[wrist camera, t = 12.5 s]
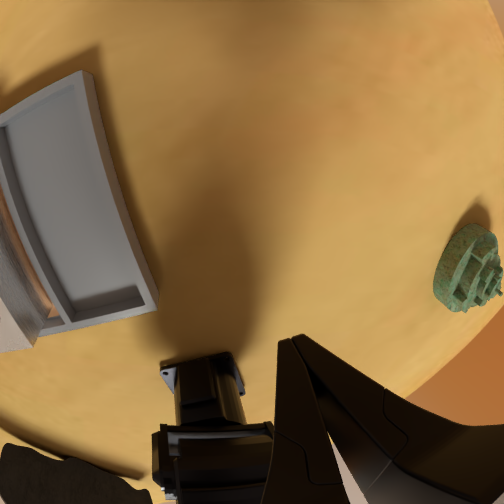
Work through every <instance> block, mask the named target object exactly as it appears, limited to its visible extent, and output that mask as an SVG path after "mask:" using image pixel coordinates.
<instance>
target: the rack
mask: <svg viewBox="0 0 504 504" xmlns="http://www.w3.org/2000/svg"><path fill="white" fill-rule="evenodd" d="M0 187H1V190H2V193H3V196H4V199H5V202H6V205H7V208H8V211H9V213H10V216H11V219H12V221H13V224H14V226H15V229H16V231H17V234H18V236H19V239H20V241H21V243H22V246H23V248H24V250H25V252H26V254H27V257H28V259H29V261H30V263H31V265H32V267H33V269H34V271H35V273H36V275H37V277H38V279H39V281H40V283H41V285H42V286H43V288H44V290H45V292H46V294H47V296H48V297H49V299H50V301H51V303H52V304H53V308H52V309H51V311H50V313H49V315H48V317H47V319H46V321H45V323H44V325H43V327H42V329H41V331H40V334H39V336H38V337H42V336H47V335H51V334H56V333H61V332H66V331H70V330H75V329H80V328H84V327H89V326H93V325H97V324H102V323H106V322H111V321H115V320H119V319H123V318H128V317H132V316H136V315H140V314H144V313H148V312H152V311H157V310H158V300H159V292H158V289H157V287H156V284H155V282H154V280H153V277H152V275H151V272H150V270H149V267H148V265H147V262H146V260H145V257H144V254H143V252H142V249H141V247H140V244H139V241H138V238H137V236H136V233H135V230H134V227H133V224H132V222H131V219H130V216H129V213H128V210H127V207H126V204H125V201H124V198H123V195H122V191H121V188H120V185H119V182H118V178H117V175H116V172H115V168H114V165H113V161H112V157H111V154H110V150H109V146H108V143H107V139H106V135H105V131H104V126H103V122H102V118H101V114H100V109H99V104H98V100H97V95H96V90H95V84H94V79H93V74H90V73H88V72H86V71H84V70H80V71H77V72H75V73H73V74H71V75H69V76H67V77H65V78H62V79H60V80H58V81H56V82H54V83H53V84H51V85H49V86H47V87H45V88H43V89H41V90H39V91H38V92H36V93H34V94H32V95H31V96H29V97H27V98H26V99H24V100H22V101H21V102H19V103H17V104H16V105H14V106H13V107H11V108H10V109H8V110H7V111H5V112H4V113H2V114H1V115H0Z"/></svg>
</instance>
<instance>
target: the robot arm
mask: <svg viewBox="0 0 504 504" xmlns="http://www.w3.org/2000/svg"><path fill="white" fill-rule="evenodd" d="M226 357H228V358H226ZM160 375H161V376H162V378H163V379H164V381H165V382H166V384H167V385H168V387H169V388H170V390H171V391H172V393H173V394H174V399H175V415H176V426H174V425H167V424H160V431H158V432H156V433H153V434H152V478H153V481H155V482H156V483H157V484H158V485H159V486H160V487H161V490H162V491H165V498H166V500H176V504H350V502H349V499H348V496H347V494H346V491H345V488H344V485H343V481H342V478H341V474H340V471H339V468H338V464H337V461H336V458H335V455H334V452H333V448H332V445H331V442H330V439H329V435H330V437H331V439H332V441H333V442H334V444H335V446H336V448H337V449H338V451H339V453H340V455H341V457H342V458H343V460H344V462H345V464H346V465H347V467H348V469H349V471H350V472H351V474H352V476H353V478H354V479H355V481H356V483H357V484H358V486H359V488H360V490H361V491H362V493H363V494H364V496H365V498H366V500H367V502H368V503H369V504H504V424H501V425H486V426H468V425H462V424H459V423H456V422H453V421H451V420H448V419H446V418H443V417H441V416H438V415H436V414H434V413H431V412H429V411H427V410H425V409H423V408H420V407H418V406H416V405H414V404H412V403H410V402H408V401H406V400H405V399H403V398H401V397H400V396H398V395H396V394H394V393H393V392H391V391H390V390H388V389H387V388H386V389H384V387H383V386H382V385H380V384H379V383H377V382H375V381H374V380H372V379H371V378H369V377H368V376H366V375H365V374H363V373H362V372H360V371H358V370H357V369H355V368H354V367H352V366H351V365H349V364H348V363H346V362H345V361H343V360H342V359H340V358H339V357H337V356H336V355H334V354H333V353H331V352H330V351H328V350H327V349H325V348H324V347H322V346H321V345H320V344H318V343H317V342H315V341H314V340H312V339H311V338H309V337H308V336H306V335H305V334H299V335H296V336H293V337H292V338H291V339H290V338H287V339H284V340H280V341H279V342H278V351H277V376H276V398H275V417H274V426H273V424H272V422H271V421H267V422H263V423H257V424H247V422H246V418H245V415H244V411H243V407H242V403H241V399H240V396H243V395H245V389H244V386H243V384H242V381H241V378H240V376H239V373H238V370H237V367H236V365H235V362H234V359H233V356H232V354H231V353H229V352H224V353H220V354H216V355H212V356H208V357H204V358H200V359H196V360H191V361H187V362H183V363H178V364H173V365H169V366H164V367H161V368H160ZM328 433H329V435H328Z"/></svg>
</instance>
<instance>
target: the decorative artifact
mask: <svg viewBox="0 0 504 504" xmlns="http://www.w3.org/2000/svg"><path fill="white" fill-rule="evenodd" d="M502 276H503V268H502V267H501V266H500V257H499V255H498V241H497V238H496V236H495V235H494V234H493V233H492V232H490V231H488V230H486V229H485V228H483V227H481V226H479V225H478V224H469V225H466V226H465V227H463V228H462V229H461V230H459V231H458V232H457V233H456V235H455V236H454V237H453V238H452V239H451V241H450V242H449V244H448V245H447V247H446V248H445V250H444V252H443V254H442V256H441V258H440V260H439V263H438V265H437V268H436V272H435V275H434V281H433V291H434V295H435V297H436V298H437V299H438V300H439V301H440V302H442V303H443V304H444V305H445V306H446V307H447V308H448V309H449V310H450V311H452V312H459V311H463V312H464V313H466V312H467V311H468V309H469V308H470V307H474V306H476V305H479V306H483V305H485V304H486V302H487V300H488V301H489V300H490V298H493V297H494V296H495V295H496V294H498V295H499V296H502V294H503V293H502V292H501V291H500V289H501V282H500V281H501V279H502Z"/></svg>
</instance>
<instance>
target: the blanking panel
mask: <svg viewBox="0 0 504 504" xmlns="http://www.w3.org/2000/svg"><path fill="white" fill-rule="evenodd" d="M52 308H53V304H52V303H51V301H50V299H49V297H48V296H47V294H46V292H45V290H44V288H43V286H42V285H41V283H40V281H39V279H38V277H37V275H36V273H35V271H34V269H33V267H32V265H31V263H30V261H29V259H28V257H27V254H26V252H25V250H24V248H23V246H22V243H21V241H20V239H19V236H18V234H17V231H16V229H15V226H14V224H13V221H12V219H11V216H10V213H9V211H8V208H7V205H6V202H5V199H4V196H3V193H2V190H1V187H0V353H3V352H9V351H15V350H21V349H27V348H33V347H34V344H35V342H36V340H37V338H38V336H39V334H40V331H41V329H42V327H43V325H44V323H45V321H46V319H47V317H48V315H49V313H50V311H51V309H52Z"/></svg>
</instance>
